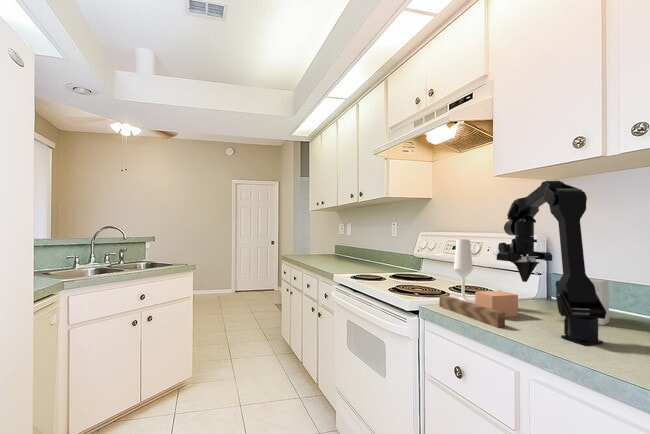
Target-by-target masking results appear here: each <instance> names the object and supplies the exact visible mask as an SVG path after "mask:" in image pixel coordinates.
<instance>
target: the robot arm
mask: <svg viewBox="0 0 650 434" xmlns="http://www.w3.org/2000/svg"><path fill="white" fill-rule="evenodd" d="M587 200H588V197H587V194H586V192H585V191H584V190H582V189H580V188H578V187H575V186H572V185H569V184H566V183H564V181H561V180H544V181H542V182H541V184H540V186H538V187H537V188H536V189H535V190H533V191H532V192H531V193H529V194H528V195H527V196H526V197H525V196H524V197H520V198H516V199H514V201H513V202H512V203H511V205H510V207H509V209H508V212H507V220H508V221H506V222H505V224H504V226H503V231H504V232H505V234H506V235H507V236H508V235H509V236H512V237H513V236H514V238H512V239H511V243H506V242H500V243H498V248H497V249H498V252H497V254H496V261H502V262H503V261H504V262H510V263H512V264H513V265H515V266H516V269H517V271H518V273H519V276H520V279H521V281H522V282H523V283H527V282H528V280H529V278H530V277H531V274H532V273H533V271H534V270H535V268H536V267H537V265H538V264H540V262H539V261H537V260H541V261H546V262H548V261H549V262H552V261H553V254H552V253H551V252H549V251H547V252H546V251H535V243H538V239H537V238H536V239H535V224H536V223H537V220H536V219H535V217H536V215H537V214H538V213H539V211H540V207H541V206H542V205H544V204H545V203H547V204H548V206H549V212H550V213H551V215H552V216H553V217H554V218H555V220H557V223H558V232H559V243H560V245H559V246H560V255H561V266H562V267H561V268H562V275H561V277H560V279H559V280H556V281H555V285H554V286H555V292H556V293H555V298H556V299H555V300H556V304H557V305H556V306H557V309H558V314H560V316H561V317H565V318H564V320H563V321H564V322H563V323H564V324H563V326H564V327H563V329H564V330H563V332H564V333H563V334H564V335H563V334H562V335H560V338H562V339H564V340H568V341H571V342H574V343H577V344H580V345H584V346H587V345H597V344H603V343H604V341H603V340H601V339H599V324H598V318H601V319H605V316H606V310H605V308H604V306H603V305H602V303H601V301H600V299H599V298H598V296H597V294H596V290H595V286H594V284H593V283H592V282H591V280H590V279H591V278H590V279H589V277H588V276H587V273H586V265H585V256H584V254H585V253H584V245H583V237H582V236H583V235H582V228H581V227H582V225H581V219H582V217H583V216H584V214H585V212H586V211H587ZM589 309H590V310H589Z"/></svg>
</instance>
